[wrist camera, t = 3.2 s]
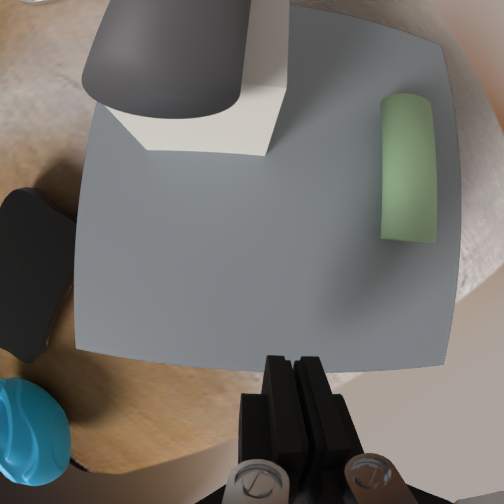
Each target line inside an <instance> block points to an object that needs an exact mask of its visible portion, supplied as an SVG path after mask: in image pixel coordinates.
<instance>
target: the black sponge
mask: <svg viewBox="0 0 504 504" xmlns="http://www.w3.org/2000/svg"><path fill="white" fill-rule="evenodd" d="M76 228H77V218H76V217H74V216H72V215H71V214H69V213H67V212H65V211H63V210H61V209H59V208H58V207H57V206H56V205H55V204H54V203H52V202H51V201H50V200H49V199H48V198H47V197H46V196H45V194H44V193H43V192H42V191H41V190H39V189H35V188H29V187H24V188H20V189H16V190H14V191H12V192H11V193H10V194H9V195H8V196H7V197H6V198H5V199H4V201H3V203H2V205H1V207H0V348H2V349H4V350H6V351H8V352H10V353H11V354H13V355H14V356H16V357H17V358H18V359H20V360H21V361H23V362H25V363H28V364H29V363H33V362H34V361H35V359H36V358H37V357H38V356H39V355H40V354H42V353H44V352H45V351H46V350H47V348H48V340H49V338H50V335H51V331H52V328H53V326H54V324H55V321H56V319H57V317H58V314H59V312H60V310H61V307H62V305H63V303H64V301H65V299H66V297H67V296H68V294H69V291H70V290H71V288H72V285H73V283H74V261H75V242H76Z"/></svg>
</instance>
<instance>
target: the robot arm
mask: <svg viewBox="0 0 504 504" xmlns="http://www.w3.org/2000/svg"><path fill="white" fill-rule="evenodd" d="M21 1H23V2H25V3H27V4H32V5H40V4H46V3H50V2H53V1H56V0H21ZM238 442H239V443H238V464H237V465H236V466H235V467H234V468H233V469H232V470H231V472H230V474H229V476H228V480H227V484H226V485H224V486H223V487H221V488H219V489H218V490H216V491H215V492H213V493H212V494H210V495H209V496H207V497H205V498H204V499H202V500H200V501H199V502H197V503H195V504H504V491H500V492H496V493H491V494H486V495H482V496H477V497H472V498H467V499H460V500H457V501H456V502H455V503H451V502H450V501H448V500H445V499H442V498H440V497H437V496H434V495H432V494H429V493H427V492H424V491H422V490H420V489H417V488H415V487H412V486H410V485H408V484H406V483H405V482H404V480H403V479H402V477H401V475H400V474H399V472H398V471H397V469H396V468H395V466H394V465H393V464H392V462H391V461H390V460H388V459H387V458H385V457H384V456H381V455H378V454H374V453H364V451H363V448H362V446H361V443H360V440H359V438H358V435H357V432H356V430H355V427H354V424H353V422H352V419H351V416H350V414H349V411H348V409H347V406H346V403H345V401H344V398H343V396H342V395H341V394H332V392H331V389H330V386H329V383H328V380H327V377H326V375H325V372H324V369H323V366H322V363H321V361H320V358H319V357H318V356H302V357H301V358H300V360H295V362H294V365H293V368H292V364H291V361H290V360H285V357H284V356H280V355H267V357H266V362H265V370H264V377H263V384H262V392H261V394H244V393H242V394H241V402H240V413H239V438H238Z"/></svg>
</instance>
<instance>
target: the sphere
mask: <svg viewBox="0 0 504 504" xmlns="http://www.w3.org/2000/svg"><path fill="white" fill-rule="evenodd" d="M70 453H71V435H70V428H69V423H68V420H67V417H66V414H65V412H64V410H63V409H62V407H61V406H60V405H59V403H58V402H57V401H56V400H55V399H54V398H53V397H52V396H51V395H50V394H49V393H48V392H47V391H45V390H44V389H43V388H41V387H40V386H38V385H36V384H34V383H32V382H30V381H28V380H25V379H22V378H18V377H15V378H10V379H0V470H1V472H2V473H3V474H4V475H5V476H6V477H7V478H8V479H10V480H11V481H13V482H15V483H21V484H26V485H31V486H39V485H43V484H47V483H49V482H51V481H53V480H55V479H56V478H57V477H59V476H60V475H61V474H62V473H63V472H64V471H65V470H66V468H67V466H68V464H69V460H70Z"/></svg>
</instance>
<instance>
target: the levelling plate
mask: <svg viewBox="0 0 504 504" xmlns="http://www.w3.org/2000/svg"><path fill="white" fill-rule="evenodd" d="M82 85H83V87H84V89H85V91H86V92H87V93H88V94H89V95H90V96H91V97H92V98H93V99H95V100H96V101H97V103H96V107H95V112H94V116H93V120H92V125H91V130H90V135H89V140H88V145H87V150H86V156H85V162H84V168H83V175H82V182H81V189H80V198H79V206H78V216H77V228H76V242H75V261H74V324H75V343H76V349H80V350H85V351H90V352H95V353H100V354H105V355H111V356H117V357H123V358H129V359H135V360H142V361H149V362H156V363H163V364H171V365H180V366H189V367H199V368H210V369H222V370H236V371H254V372H264V370H265V362H266V357H267V355H280V356H284V357H285V360H290V361H291V364H292V368H293V365H294V362H295V360H300V358H301V357H302V356H318V357H319V358H320V361H321V363H322V366H323V369H324V372H325V373H340V372H367V371H383V370H397V369H409V368H420V367H429V366H438V365H443V364H444V361H445V356H446V351H447V346H448V341H449V336H450V331H451V325H452V319H453V312H454V305H455V298H456V290H457V281H458V270H459V258H460V241H461V176H460V159H459V146H458V136H457V127H456V119H455V112H454V105H453V99H452V93H451V88H450V82H449V77H448V72H447V68H446V63H445V59H444V55H443V50H442V47H441V46H440V45H438V44H435V43H433V42H431V41H428V40H425V39H423V38H420V37H418V36H415V35H412V34H409V33H406V32H404V31H401V30H398V29H395V28H391V27H388V26H385V25H382V24H378V23H375V22H371V21H368V20H364V19H360V18H356V17H352V16H348V15H344V14H339V13H335V12H330V11H325V10H320V9H314V8H308V7H302V6H295V5H290V0H111V1H110V3H109V5H108V7H107V9H106V12H105V14H104V16H103V19H102V21H101V24H100V26H99V29H98V31H97V34H96V36H95V39H94V42H93V44H92V47H91V50H90V53H89V56H88V59H87V62H86V65H85V68H84V71H83V74H82Z"/></svg>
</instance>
